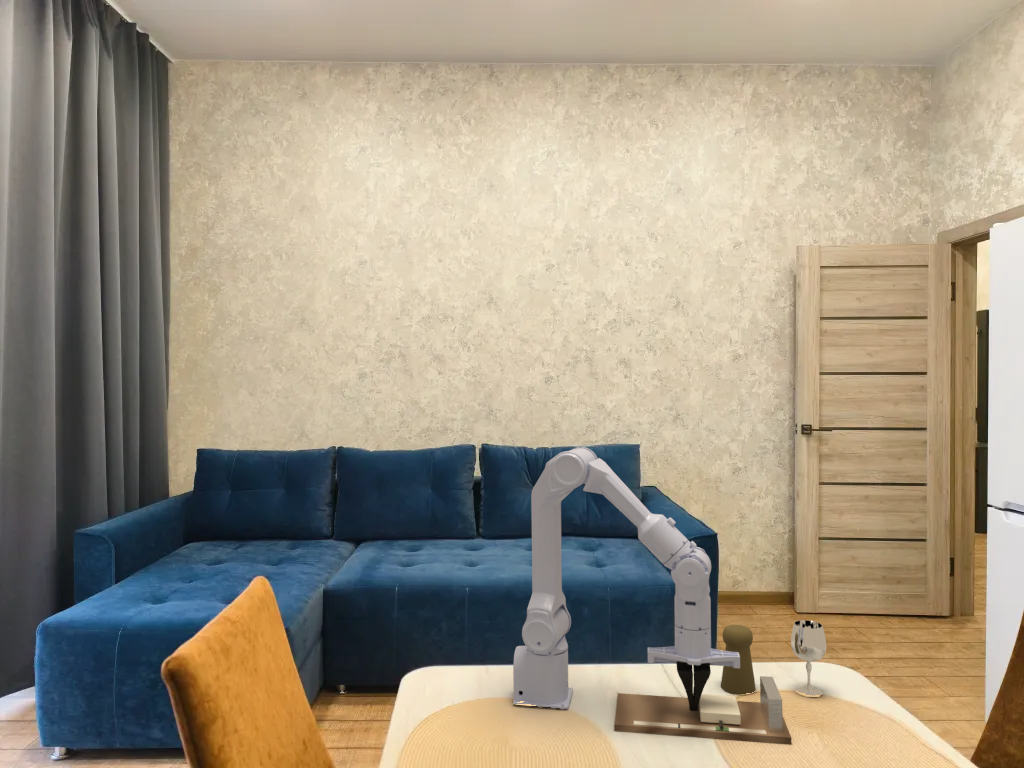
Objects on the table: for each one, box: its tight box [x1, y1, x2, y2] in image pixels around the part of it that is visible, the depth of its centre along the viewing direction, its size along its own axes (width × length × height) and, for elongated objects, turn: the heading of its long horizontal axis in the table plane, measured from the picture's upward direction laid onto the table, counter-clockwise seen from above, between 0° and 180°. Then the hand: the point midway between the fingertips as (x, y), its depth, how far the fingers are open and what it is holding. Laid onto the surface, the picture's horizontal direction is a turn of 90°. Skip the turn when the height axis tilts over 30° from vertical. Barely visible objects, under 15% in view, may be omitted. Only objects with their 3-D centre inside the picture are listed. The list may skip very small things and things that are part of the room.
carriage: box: [699, 693, 741, 729], centre depth 118 cm, size 6×9×2 cm, turn 169°
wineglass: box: [790, 619, 827, 696], centre depth 129 cm, size 6×6×12 cm
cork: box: [720, 624, 757, 695], centre depth 132 cm, size 6×6×11 cm
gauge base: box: [613, 692, 792, 745], centre depth 119 cm, size 26×12×1 cm, turn 79°
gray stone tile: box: [759, 675, 783, 732], centre depth 117 cm, size 2×9×5 cm, turn 169°
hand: (693, 708), depth 120 cm, fingers closed
